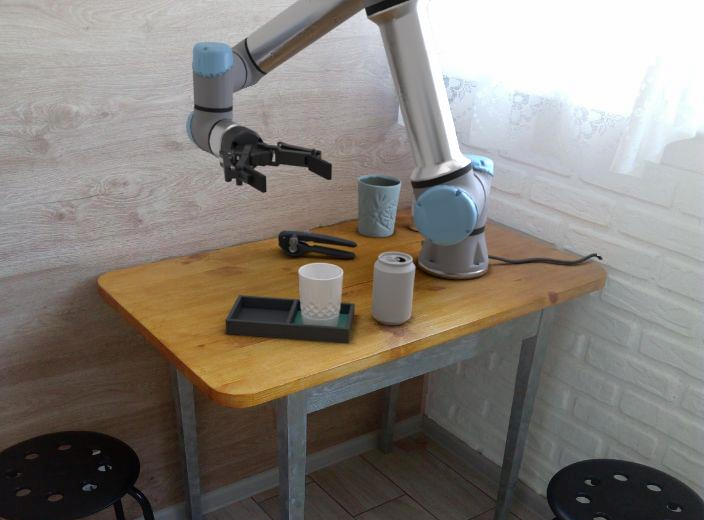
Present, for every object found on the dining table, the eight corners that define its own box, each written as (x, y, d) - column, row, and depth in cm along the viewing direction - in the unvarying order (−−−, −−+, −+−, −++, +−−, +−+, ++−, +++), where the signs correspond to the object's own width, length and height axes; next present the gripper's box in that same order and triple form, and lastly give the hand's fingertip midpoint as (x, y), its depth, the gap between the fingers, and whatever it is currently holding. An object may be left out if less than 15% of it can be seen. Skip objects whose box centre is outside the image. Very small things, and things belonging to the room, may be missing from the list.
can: (416, 324, 143) (422, 262, 136) (378, 328, 141) (382, 265, 134) (402, 308, 149) (407, 247, 142) (366, 312, 147) (369, 250, 140)
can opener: (274, 258, 168) (274, 233, 165) (280, 247, 174) (280, 222, 170) (355, 264, 167) (356, 239, 163) (358, 253, 172) (359, 228, 169)
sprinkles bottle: (431, 228, 188) (437, 171, 180) (421, 233, 185) (427, 175, 177) (415, 224, 190) (420, 167, 182) (405, 229, 187) (410, 171, 179)
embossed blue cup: (350, 226, 187) (352, 175, 180) (388, 223, 190) (392, 173, 183) (363, 240, 180) (366, 187, 172) (403, 236, 182) (408, 184, 175)
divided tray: (354, 316, 145) (354, 303, 144) (348, 343, 136) (349, 329, 135) (239, 308, 147) (238, 294, 145) (226, 334, 138) (225, 320, 136)
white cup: (336, 335, 137) (338, 281, 131) (293, 330, 138) (293, 276, 132) (345, 317, 143) (347, 265, 137) (304, 312, 144) (304, 260, 138)
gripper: (292, 157, 155) (354, 188, 142) (180, 176, 143) (236, 212, 130) (292, 117, 150) (356, 145, 137) (176, 134, 138) (234, 166, 125)
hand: (298, 178), depth 134 cm, fingers open, 13 cm apart
